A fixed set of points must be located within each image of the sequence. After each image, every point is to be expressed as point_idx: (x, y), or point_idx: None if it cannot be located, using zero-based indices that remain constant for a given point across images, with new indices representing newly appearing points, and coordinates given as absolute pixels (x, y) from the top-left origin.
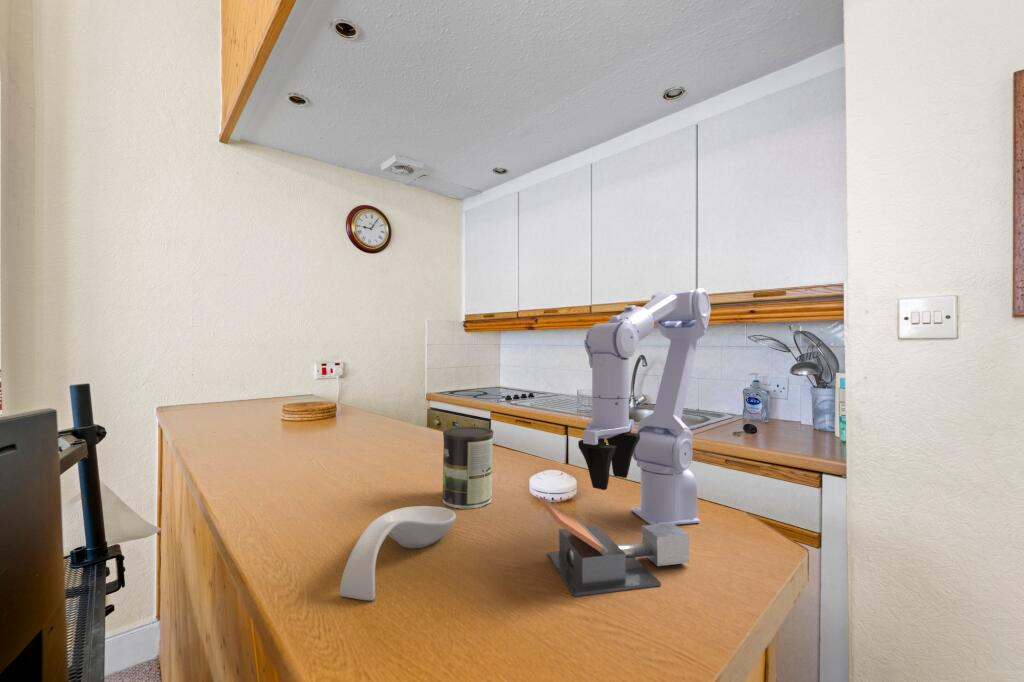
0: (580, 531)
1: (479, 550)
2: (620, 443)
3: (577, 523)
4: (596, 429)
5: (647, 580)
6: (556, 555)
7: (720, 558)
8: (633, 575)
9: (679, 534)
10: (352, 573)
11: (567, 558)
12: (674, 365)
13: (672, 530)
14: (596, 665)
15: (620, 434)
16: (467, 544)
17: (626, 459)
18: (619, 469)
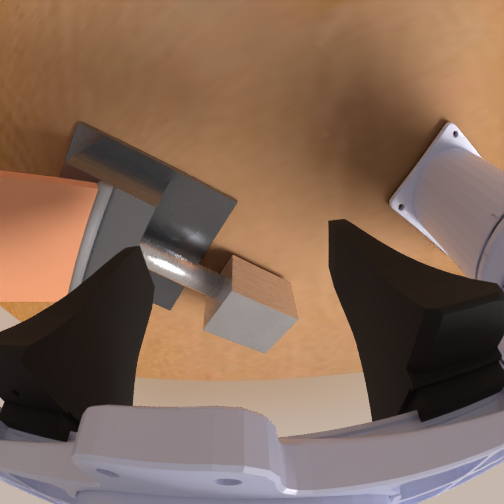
0: (24, 289)
1: (4, 38)
2: (380, 363)
3: (66, 225)
4: (29, 489)
5: (158, 296)
6: (83, 146)
7: (327, 325)
8: (151, 277)
9: (249, 346)
10: None
11: None
12: None
13: (258, 333)
14: (20, 315)
15: (408, 405)
16: (4, 6)
17: (353, 323)
18: (338, 261)
